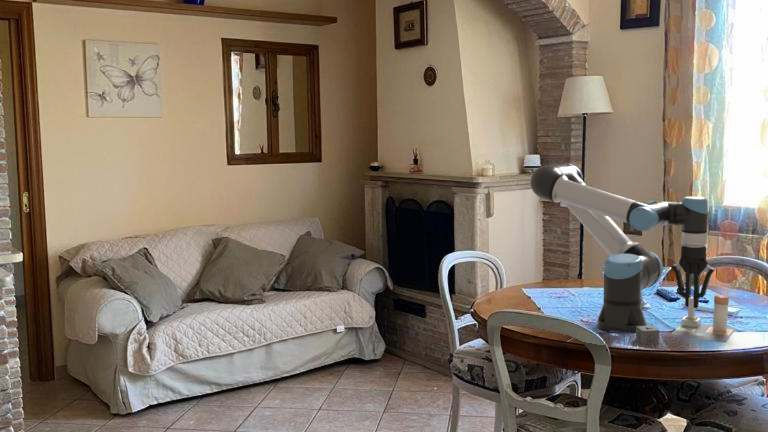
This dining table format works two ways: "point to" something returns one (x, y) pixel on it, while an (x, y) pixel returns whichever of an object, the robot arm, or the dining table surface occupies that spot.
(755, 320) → the dining table surface
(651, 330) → the grey smiley picture cube
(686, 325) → the button housing
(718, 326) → the ball
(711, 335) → the grey flat square panel
